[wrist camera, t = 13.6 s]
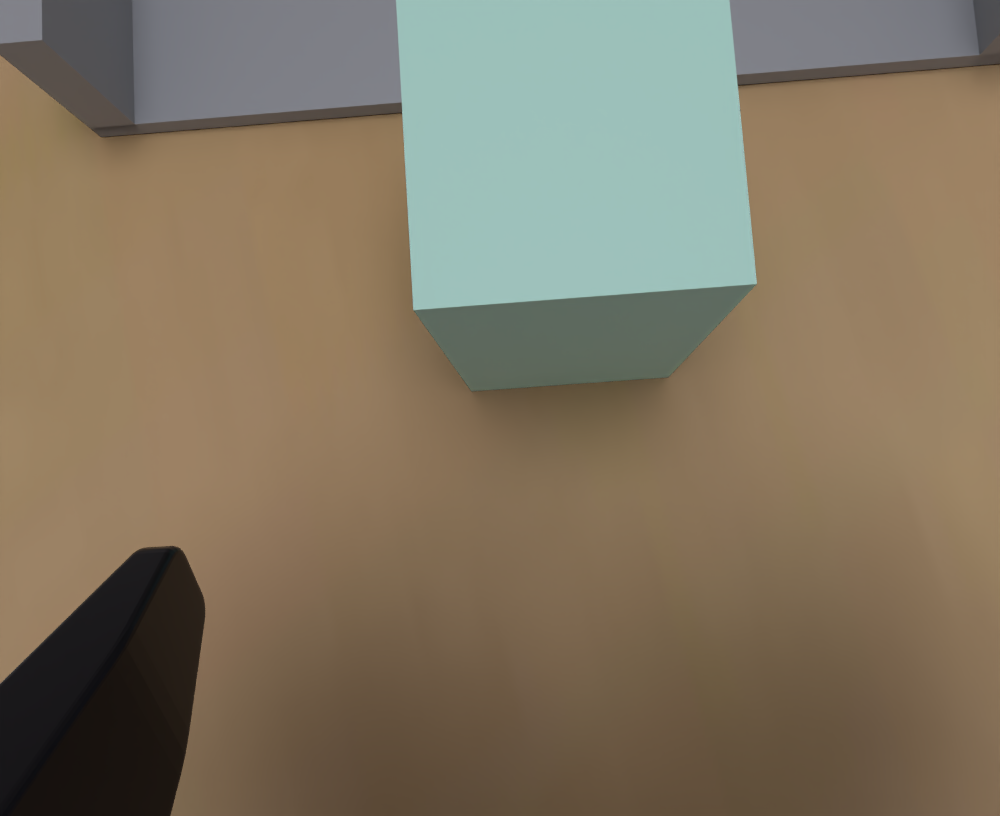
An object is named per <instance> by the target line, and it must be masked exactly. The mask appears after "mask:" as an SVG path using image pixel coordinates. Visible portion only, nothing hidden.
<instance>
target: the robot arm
mask: <svg viewBox="0 0 1000 816" xmlns="http://www.w3.org/2000/svg"><path fill="white" fill-rule="evenodd" d="M204 621H205V603H204V598H203V595H202V592H201V590H200V588H199V585H198V583H197V581H196V578H195V576H194V574H193V572H192V569H191V567H190V565H189V563H188V560H187V558H186V556H185V554H184V552H183V551H182V550H181V549H180V548H178V547H175V546H164V547H147V548H142V549H139V550H138V551H136V552H134V553H133V554H132V555H131V556H130V557H129V558H128V559H127V560H126V561H125V562H124V563H123V564H122V565H121V566H120V567H119V568H118V569H117V570H116V571H115V572H114V573H113V574H112V575H111V576H110V577H109V578H108V579H107V580H106V581H104V582H103V583H102V584H101V585H100V586H99V587H98V588H97V589H96V590H95V591H94V592H93V593H92V594H91V595H90V596H89V597H88V598H87V599H86V600H85V601H84V602H83V603H82V604H81V605H80V606H79V607H78V608H77V609H76V610H75V611H74V612H73V613H72V614H71V615H70V616H69V617H68V618H67V619H66V620H65V621H64V622H63V623H62V624H61V625H60V626H59V627H58V628H57V629H56V630H55V631H54V632H53V633H52V634H50V635H49V636H48V637H47V638H46V639H45V640H44V641H43V642H42V643H41V644H40V645H39V646H38V647H37V648H36V649H35V650H34V651H33V652H32V653H31V654H30V655H29V656H28V657H27V658H26V659H25V660H24V661H23V662H22V663H21V664H20V665H19V666H18V667H17V668H16V669H15V670H14V671H13V672H12V673H11V674H10V675H9V676H8V677H7V678H6V679H5V680H4V681H3V682H2V683H1V684H0V816H170V815H171V811H172V807H173V803H174V799H175V795H176V791H177V788H178V784H179V780H180V776H181V771H182V767H183V763H184V758H185V754H186V748H187V742H188V736H189V729H190V722H191V715H192V708H193V700H194V693H195V686H196V679H197V672H198V665H199V657H200V650H201V643H202V636H203V629H204Z"/></svg>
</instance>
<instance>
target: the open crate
mask: <svg viewBox="0 0 1000 816" xmlns="http://www.w3.org/2000/svg"><path fill="white" fill-rule="evenodd" d="M729 1H730V12H731V22H732V32H733V43H734V53H735V63H736V74H737V84H738V85H745V84H757V83H770V82H782V81H794V80H806V79H819V78H831V77H843V76H856V75H868V74H880V73H892V72H905V71H917V70H929V69H941V68H954V67H966V66H978V65H991V64H1000V0H729ZM0 55H1V56H2V57H3V58H5V59H6V60H7V61H8V62H9V63H11V64H12V65H13V66H14V67H16V68H17V69H18V70H19V71H21V72H22V73H23V74H24V75H25V76H27V77H28V78H29V79H30V80H32V81H33V82H34V83H35V84H36V85H38V86H39V87H40V88H41V89H43V90H44V91H45V92H46V93H48V94H49V95H50V96H51V97H52V98H54V99H55V100H56V101H57V102H59V103H60V104H61V105H62V106H64V107H65V108H66V109H67V110H68V111H70V112H71V113H72V114H73V115H75V116H76V117H77V118H78V119H79V120H81V121H82V122H83V123H84V124H86V125H87V126H88V127H89V128H91V129H92V130H93V131H94V132H95V133H97V134H98V135H99V136H100V137H107V136H119V135H132V134H144V133H156V132H168V131H181V130H193V129H205V128H217V127H230V126H242V125H254V124H267V123H279V122H291V121H303V120H316V119H328V118H340V117H352V116H365V115H377V114H389V113H401V112H402V98H401V80H400V62H399V44H398V26H397V8H396V0H0Z"/></svg>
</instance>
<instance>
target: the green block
mask: <svg viewBox="0 0 1000 816" xmlns="http://www.w3.org/2000/svg"><path fill="white" fill-rule="evenodd" d="M396 8H397V26H398V44H399V62H400V80H401V98H402V115H403V133H404V151H405V169H406V187H407V204H408V222H409V240H410V258H411V276H412V293H413V310H414V312H415V313H416V314H417V316H418V317H419V319H420V320H421V321H422V323H423V324H424V326H425V327H426V328H427V330H428V331H429V333H430V334H431V335H432V337H433V338H434V340H435V341H436V342H437V344H438V345H439V347H440V348H441V349H442V351H443V352H444V354H445V355H446V356H447V358H448V359H449V361H450V362H451V363H452V365H453V366H454V368H455V369H456V370H457V372H458V373H459V375H460V376H461V377H462V379H463V380H464V382H465V383H466V384H467V386H468V387H469V389H470V390H471V391H484V390H498V389H512V388H526V387H540V386H554V385H568V384H582V383H596V382H610V381H624V380H638V379H652V378H666V377H669V376H670V375H671V374H672V373H673V372H674V371H675V370H676V369H677V368H678V367H679V366H680V365H681V364H682V362H683V361H684V360H685V359H686V358H687V357H688V356H689V355H690V354H691V353H692V352H693V351H694V350H695V349H696V348H697V347H698V346H699V345H700V343H701V342H702V341H703V340H704V339H705V338H706V337H707V336H708V335H709V334H710V333H711V332H712V331H713V330H714V329H715V328H716V327H717V325H718V324H719V323H720V322H721V321H722V320H723V319H724V318H725V317H726V316H727V315H728V314H729V313H730V312H731V311H732V310H733V309H734V308H735V306H736V305H737V304H738V303H739V302H740V301H741V300H742V299H743V298H744V297H745V296H746V295H747V294H748V293H749V292H750V291H751V290H752V289H753V287H754V286H755V285H756V284H757V281H756V271H755V260H754V250H753V240H752V229H751V219H750V209H749V198H748V188H747V177H746V167H745V157H744V146H743V136H742V126H741V115H740V105H739V94H738V84H737V74H736V63H735V53H734V43H733V32H732V22H731V12H730V1H729V0H396Z"/></svg>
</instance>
